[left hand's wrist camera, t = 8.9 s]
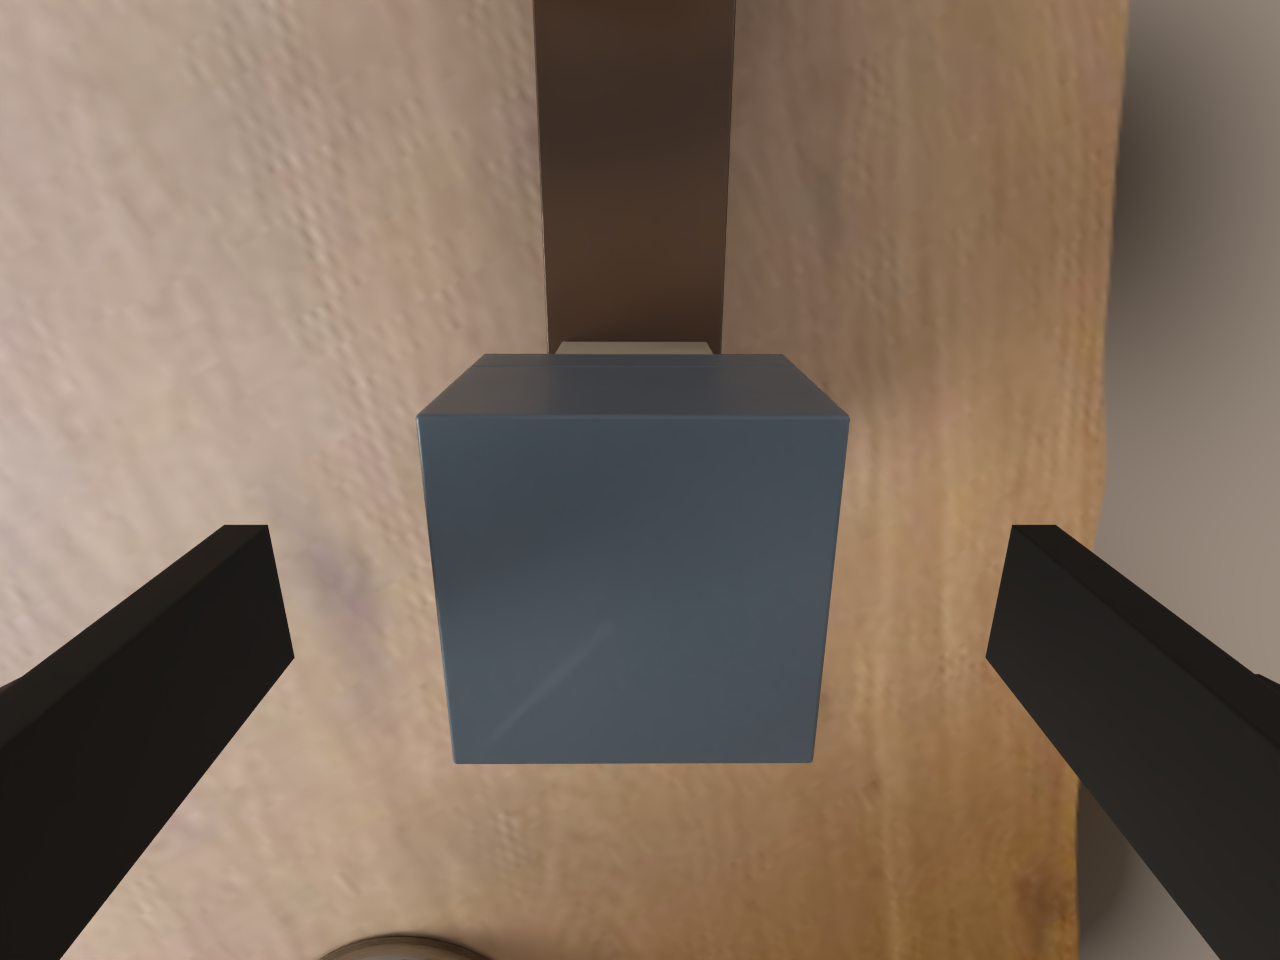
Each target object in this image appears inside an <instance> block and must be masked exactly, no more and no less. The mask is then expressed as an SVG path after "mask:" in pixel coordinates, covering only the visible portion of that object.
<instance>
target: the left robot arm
mask: <svg viewBox="0 0 1280 960" xmlns="http://www.w3.org/2000/svg"><path fill="white" fill-rule="evenodd" d="M293 659H294V653H293V648H292V643H291V638H290V633H289V628H288V623H287V618H286V613H285V608H284V603H283V598H282V593H281V588H280V583H279V578H278V573H277V568H276V563H275V558H274V553H273V548H272V543H271V538H270V533H269V529H268V525H224V526H222V527H221V528H220V529H218V530H217V531H216V532H214V533H213V534H212V535H210V536H209V537H208V538H206V539H205V540H204V541H202V542H201V543H200V544H198V545H197V546H196V547H194V548H193V549H192V550H190V551H189V552H188V553H186V554H185V555H184V556H182V557H181V558H180V559H178V560H177V561H176V562H174V563H173V564H172V565H170V566H169V567H168V568H166V569H165V570H164V571H162V572H161V573H160V574H158V575H157V576H156V577H154V578H153V579H152V580H150V581H149V582H148V583H146V584H145V585H144V586H142V587H141V588H140V589H138V590H137V591H136V592H134V593H133V594H132V595H130V596H129V597H128V598H126V599H125V600H124V601H122V602H121V603H120V604H118V605H117V606H116V607H114V608H113V609H112V610H110V611H109V612H108V613H106V614H105V615H104V616H102V617H101V618H100V619H98V620H97V621H96V622H94V623H93V624H92V625H90V626H89V627H88V628H86V629H85V630H84V631H82V632H81V633H80V634H78V635H77V636H76V637H74V638H73V639H72V640H70V641H69V642H68V643H66V644H65V645H64V646H62V647H61V648H60V649H58V650H57V651H56V652H54V653H53V654H52V655H50V656H49V657H48V658H46V659H45V660H44V661H42V662H41V663H40V664H38V665H37V666H36V667H34V668H33V669H32V670H30V671H29V672H28V673H26V674H25V675H24V676H22V677H20V678H18V679H16V680H14V681H12V682H10V683H8V684H6V685H4V686H2V687H0V960H60V959H61V957H62V956H63V955H64V953H65V952H66V951H67V950H68V948H69V947H70V946H71V944H72V943H73V942H74V941H75V939H76V938H77V937H78V935H79V934H80V933H81V932H82V930H83V929H84V928H85V926H86V925H87V924H88V923H89V921H90V920H91V919H92V917H93V916H94V915H95V914H96V912H97V911H98V910H99V908H100V907H101V906H102V905H103V903H104V902H105V901H106V899H107V898H108V897H109V896H110V894H111V893H112V892H113V890H114V889H115V888H116V887H117V885H118V884H119V883H120V881H121V880H122V879H123V878H124V876H125V875H126V874H127V872H128V871H129V870H130V869H131V867H132V866H133V865H134V863H135V862H136V861H137V860H138V858H139V857H140V856H141V854H142V853H143V852H144V851H145V849H146V848H147V847H148V845H149V844H150V843H151V842H152V840H153V839H154V838H155V836H156V835H157V834H158V833H159V831H160V830H161V829H162V827H163V826H164V825H165V824H166V822H167V821H168V820H169V818H170V817H171V816H172V815H173V813H174V812H175V811H176V809H177V808H178V807H179V806H180V804H181V803H182V802H183V800H184V799H185V798H186V797H187V795H188V794H189V793H190V791H191V790H192V789H193V788H194V786H195V785H196V784H197V782H198V781H199V780H200V779H201V777H202V776H203V775H204V773H205V772H206V771H207V770H208V768H209V767H210V766H211V764H212V763H213V762H214V761H215V759H216V758H217V757H218V755H219V754H220V753H221V752H222V750H223V749H224V748H225V746H226V745H227V744H228V743H229V741H230V740H231V739H232V737H233V736H234V735H235V734H236V732H237V731H238V730H239V728H240V727H241V726H242V725H243V723H244V722H245V721H246V719H247V718H248V717H249V716H250V714H251V713H252V712H253V710H254V709H255V708H256V706H257V705H258V704H259V703H260V701H261V700H262V699H263V697H264V696H265V695H266V694H267V692H268V691H269V690H270V688H271V687H272V686H273V685H274V683H275V682H276V681H277V679H278V678H279V677H280V676H281V674H282V673H283V672H284V670H285V669H286V668H287V667H288V665H289V664H290V663H291V661H292V660H293ZM986 659H987V660H988V661H989V663H990V664H991V665H992V667H993V668H994V669H995V670H996V672H997V673H998V674H999V676H1000V677H1001V678H1002V679H1003V681H1004V682H1005V683H1006V685H1007V686H1008V687H1009V688H1010V690H1011V691H1012V692H1013V694H1014V695H1015V696H1016V697H1017V699H1018V700H1019V701H1020V703H1021V704H1022V705H1023V706H1024V708H1025V709H1026V710H1027V712H1028V713H1029V714H1030V716H1031V717H1032V718H1033V719H1034V721H1035V722H1036V723H1037V725H1038V726H1039V727H1040V728H1041V730H1042V731H1043V732H1044V734H1045V735H1046V736H1047V737H1048V739H1049V740H1050V741H1051V743H1052V744H1053V745H1054V746H1055V748H1056V749H1057V750H1058V752H1059V753H1060V754H1061V755H1062V757H1063V758H1064V759H1065V761H1066V762H1067V763H1068V764H1069V766H1070V767H1071V768H1072V770H1073V771H1074V772H1075V773H1076V775H1077V776H1078V777H1079V779H1080V780H1081V781H1082V782H1083V784H1084V785H1085V786H1086V787H1087V789H1088V790H1089V791H1090V793H1091V794H1092V795H1093V797H1094V798H1095V799H1096V800H1097V802H1098V803H1099V804H1100V806H1101V807H1102V808H1103V809H1104V811H1105V812H1106V813H1107V815H1108V816H1109V817H1110V818H1111V820H1112V821H1113V822H1114V824H1115V825H1116V826H1117V827H1118V829H1119V830H1120V831H1121V833H1122V834H1123V835H1124V836H1125V838H1126V839H1127V840H1128V842H1129V843H1130V844H1131V845H1132V847H1133V848H1134V849H1135V851H1136V852H1137V853H1138V854H1139V856H1140V857H1141V858H1142V860H1143V861H1144V862H1145V863H1146V865H1147V866H1148V867H1149V869H1150V870H1151V871H1152V872H1153V874H1154V875H1155V876H1156V878H1157V879H1158V880H1159V881H1160V883H1161V884H1162V885H1163V887H1164V888H1165V889H1166V890H1167V892H1168V893H1169V894H1170V896H1171V897H1172V898H1173V899H1174V901H1175V902H1176V903H1177V905H1178V906H1179V907H1180V908H1181V910H1182V911H1183V912H1184V914H1185V915H1186V916H1187V917H1188V919H1189V920H1190V921H1191V923H1192V924H1193V925H1194V926H1195V928H1196V929H1197V930H1198V932H1199V933H1200V934H1201V935H1202V937H1203V938H1204V939H1205V941H1206V942H1207V943H1208V944H1209V946H1210V947H1211V948H1212V950H1213V951H1214V952H1215V953H1216V955H1217V956H1218V957H1219V959H1220V960H1280V684H1278V683H1276V682H1274V681H1272V680H1270V679H1268V678H1266V677H1264V676H1262V675H1260V674H1254V673H1252V672H1251V671H1250V670H1248V669H1247V668H1246V667H1244V666H1243V665H1242V664H1240V663H1239V662H1238V661H1236V660H1235V659H1234V658H1232V657H1231V656H1230V655H1228V654H1227V653H1226V652H1224V651H1223V650H1222V649H1220V648H1219V647H1218V646H1216V645H1215V644H1214V643H1212V642H1211V641H1210V640H1208V639H1207V638H1206V637H1204V636H1203V635H1202V634H1200V633H1199V632H1198V631H1196V630H1195V629H1194V628H1192V627H1191V626H1190V625H1188V624H1187V623H1186V622H1184V621H1183V620H1182V619H1180V618H1179V617H1178V616H1176V615H1175V614H1174V613H1172V612H1171V611H1170V610H1168V609H1167V608H1166V607H1164V606H1163V605H1162V604H1160V603H1159V602H1158V601H1156V600H1155V599H1154V598H1152V597H1151V596H1150V595H1148V594H1147V593H1146V592H1144V591H1143V590H1142V589H1140V588H1139V587H1138V586H1136V585H1135V584H1134V583H1132V582H1131V581H1130V580H1128V579H1127V578H1126V577H1124V576H1123V575H1122V574H1120V573H1119V572H1118V571H1116V570H1115V569H1114V568H1112V567H1111V566H1110V565H1108V564H1107V563H1106V562H1104V561H1103V560H1102V559H1100V558H1099V557H1098V556H1096V555H1095V554H1094V553H1092V552H1091V551H1090V550H1088V549H1087V548H1086V547H1084V546H1083V545H1082V544H1080V543H1079V542H1078V541H1076V540H1075V539H1074V538H1072V537H1071V536H1070V535H1068V534H1067V533H1066V532H1064V531H1063V530H1062V529H1060V528H1059V527H1058V526H1056V525H1012V529H1011V533H1010V538H1009V543H1008V548H1007V553H1006V558H1005V563H1004V568H1003V573H1002V578H1001V583H1000V588H999V593H998V598H997V603H996V608H995V613H994V618H993V623H992V628H991V633H990V638H989V643H988V648H987V653H986ZM320 960H487V959H486V958H484V957H482V956H480V955H478V954H476V953H474V952H472V951H469V950H467V949H464V948H462V947H459V946H456V945H453V944H449V943H445V942H441V941H437V940H431V939H425V938H415V937H385V938H376V939H370V940H365V941H361V942H357V943H353V944H350V945H347V946H345V947H342V948H340V949H337V950H335V951H333V952H331V953H329V954H328V955H326V956H324V957H323V958H321V959H320Z"/></svg>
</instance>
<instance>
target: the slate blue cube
mask: <svg viewBox="0 0 1280 960" xmlns="http://www.w3.org/2000/svg"><path fill="white" fill-rule="evenodd" d="M849 422H850V418H849V415H848V414H847V413H845V412H844V411H843V410H842V409H841V408H840V407H839V406H838V405H837V404H836V403H835V402H834V401H833V400H831V399H830V398H829V397H828V396H827V395H826V394H825V393H824V392H823V391H822V390H821V389H820V388H818V387H817V386H816V385H815V384H814V383H813V382H812V381H811V380H810V379H809V378H808V377H807V376H806V375H804V374H803V373H802V372H801V371H800V370H799V369H798V368H796V366H795V365H794V364H793V363H792V362H790V361H789V360H788V359H787V358H786V357H785V356H784V355H782V354H485V355H483V356H482V357H481V358H480V359H479V360H477V361H476V362H475V363H474V364H473V365H472V366H471V367H470V368H469V369H467V370H466V371H465V372H464V373H463V374H462V375H461V376H460V377H459V378H457V379H456V380H455V381H454V382H453V383H452V384H451V385H450V386H449V387H448V388H446V389H445V390H444V391H443V392H442V393H441V394H440V395H439V396H438V397H436V398H435V399H434V400H433V401H432V402H431V403H430V404H429V405H428V406H426V407H425V408H424V409H423V410H422V411H421V412H420V413H419V414H418V415H417V416H416V425H417V434H418V443H419V452H420V461H421V470H422V479H423V488H424V498H425V507H426V516H427V525H428V534H429V543H430V552H431V561H432V570H433V579H434V588H435V597H436V606H437V616H438V625H439V634H440V643H441V652H442V661H443V670H444V679H445V688H446V697H447V706H448V715H449V725H450V734H451V743H452V752H453V760H454V763H456V764H591V763H811V762H812V761H813V755H814V746H815V736H816V727H817V718H818V708H819V699H820V690H821V681H822V671H823V662H824V653H825V644H826V634H827V625H828V616H829V607H830V597H831V588H832V579H833V570H834V560H835V551H836V542H837V533H838V523H839V514H840V505H841V496H842V486H843V477H844V468H845V459H846V449H847V440H848V431H849Z"/></svg>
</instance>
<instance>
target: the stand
mask: <svg viewBox="0 0 1280 960" xmlns="http://www.w3.org/2000/svg"><path fill="white" fill-rule="evenodd" d="M735 10H736V0H533V21H534V44H535V68H536V92H537V115H538V139H539V163H540V186H541V210H542V233H543V257H544V281H545V304H546V328H547V352H548V354H721V342H722V319H723V295H724V271H725V247H726V224H727V200H728V176H729V152H730V128H731V105H732V81H733V57H734V33H735Z"/></svg>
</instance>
